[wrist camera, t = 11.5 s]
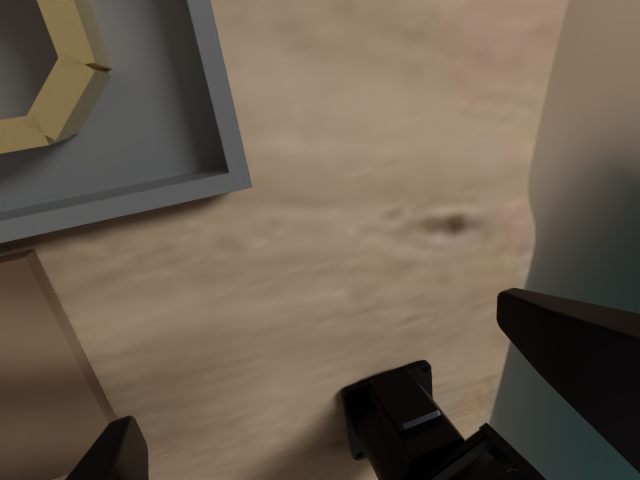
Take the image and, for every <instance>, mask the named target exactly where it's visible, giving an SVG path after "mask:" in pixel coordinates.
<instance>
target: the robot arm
mask: <svg viewBox="0 0 640 480" xmlns="http://www.w3.org/2000/svg"><path fill="white" fill-rule="evenodd" d="M496 318H497V323H498V325H499V327H500V328H501V330H502V331H503V332H504V333H505V334H506V335H507V337H508V338H509V339H510V340H511V341H512V343H513V344H514V345H515V346H516V347H517V349H519V351H520V352H521V353H522V354H523V356H524V357H525V358H526V359H527V360H528V361H529V363H531V365H532V366H533V367H534V368H535V369H536V371H537V372H538V373H539V374H540V375H541V376H542V377H543V378H544V379H545V380H546V381H547V382H548V383H549V384H550V385H551V386H552V387H553V388H554V389H555V390H556V391H557V392H558V393H559V394H560V395H561V396H562V397H563V398H564V399H565V400H566V401H567V402H568V403H569V404H570V405H571V406H572V407H573V408H574V409H575V410H576V411H577V412H578V413H579V414H580V415H581V416H582V417H583V418H584V419H585V420H586V421H587V422H588V423H589V424H590V425H591V426H592V427H593V428H594V429H595V430H596V431H597V432H598V433H599V434H600V435H601V436H602V437H603V438H604V439H605V440H606V441H607V442H608V443H610V444H611V445H612V446H613V447H614V448H615V449H616V450H617V451H618V452H619V453H620V454H621V455H622V456H623V457H624V458H625V459H626V460H627V461H628V462H629V463H630V464H631V465H632V466H633V467H634V468H635V469H636V470H637V471H638V472H639V473H640V313H636V312H631V311H626V310H621V309H617V308H612V307H607V306H602V305H597V304H592V303H587V302H582V301H577V300H572V299H567V298H562V297H557V296H552V295H547V294H543V293H537V292H532V291H528V290H523V289H518V288H510V289H507V290H504V291H501V292H500V293H499V294H498V297H497V317H496ZM350 394H351V395H350ZM348 395H349V396H348ZM342 401H343V407H344V413H345V419H346V425H347V431H348V437H349V443H350V449H351V454H352V456H353V458H354V460H361V459H364V458H366V457H368V459H369V461H370V463H371V465H372V467H373V470H374V472H375V474H376V476H377V478H378V480H546V479H545V478H544V477H543V476H542V475H541V474H540V473H539V472H538V471H537V470H536V469H535V468H534V467H533V466H532V465H531V464H530V463H529V462H528V461H527V460H525V459H524V458H523V457H522V456H521V455H520V454H519V453H518V452H517V451H516V450H515V449H514V448H513V447H512V446H511V445H509V443H508V442H506V441H505V440H504V439H503V438H502V437H501V436H500V435H499V434H498V433H497V432H496V431H495V430H494V429H493V428H492V427H490V425H489V424H487V423H485V424H483V425H482V426H481V427H479V430H478V431H477V432H476V433H474V434H473V435H472V436H470V437H469V438H468V439H466V440H465V439H464V438H463V436H462V435H461V434H460V433H459V431H458V430H457V429H456V428H455V426H454V425H453V424H452V423H451V421H450V420H449V419H448V418H447V416H446V415H445V414H444V413H443V411H442V410H441V409H440V408H439V406H438V405H437V404H436V403H435V401H434V400H433V396H432V373H431V365H430V364H429V363H428V362H427V361H426V360H421V361H419V362H416V363H413V364H410V365H407V366H405V367H402V368H399V369H396V370H394V371H391V372H388V373H385V374H383V375H380V376H377V377H374V378H371V379H369V380H366V381H363V382H360V383H358V384H355V385H352V386H349V387H347V388H345V389H344V390H343V391H342ZM65 480H149V479H148V448H147V444H146V441H145V439H144V437H143V435H142V433H141V430H140V428H139V426H138V424H137V422H136V420H135V418H134V417H133V416H130V415H129V416H126V417H123V418H120V419H117V420H114V421H112V422H110V423H109V424H108V425H107V427H106V428H105V429H104V430H103V432H102V433H101V434H100V436H99V437H98V438H97V439H96V441H95V442H94V443H93V445H92V446H91V447H90V448H89V450H88V451H87V452H86V453H85V455H84V456H83V457H82V459H81V460H80V461H79V462H78V464H77V465H76V466H75V468H74V469H73V470H72V471H71V473H70V474H69V475H68V477H67V478H66V479H65Z"/></svg>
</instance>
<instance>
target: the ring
mask: <svg viewBox="0 0 640 480" xmlns="http://www.w3.org/2000/svg"><path fill="white" fill-rule="evenodd" d="M37 2H38V5H39V8H40V10H41V13H42V15H43V18H44V21H45V23H46V26H47V29H48V31H49V34H50V37H51V39H52V42H53V45H54V47H55V50H56V52H57V55H58V60H57V61H56V63H55V65H54V67H53V69H52V71H51V72H50V74H49V76H48V78H47V80H46V81H45V83H44V85H43V87H42V89H41V91H40V92H39V94H38V96H37V98H36V100H35V101H34V103H33V105H32V107H31V109H30V110H29V112H28V114H27V116H22V117H16V118H9V119H3V120H0V154H1V153H7V152H12V151H18V150H24V149H30V148H35V147H41V146H47V145H51V144H54V143H56V142H59V141H62V140H65V139H68V138H71V137H73V135H75V134H78V133H79V132H80V130H81V128H82V127H83V125H84V123H85V121H86V120H87V118H88V116H89V114H90V113H91V111H92V109H93V107H94V106H95V104H96V102H97V100H98V99H99V97H100V95H101V93H102V92H103V90H104V88H105V86H106V85H107V83H108V81H109V79H110V78H111V76H112V75H110V74H109V73H107V72H106V71H104V70H106V69H112V66H111V63H110V60H109V57H108V54H107V51H106V48H105V45H104V42H103V39H102V36H101V33H100V30H99V27H98V24H97V21H96V18H95V15H94V12H93V9H92V6H91V3H90V0H37Z"/></svg>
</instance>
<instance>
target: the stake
mask: <svg viewBox="0 0 640 480" xmlns="http://www.w3.org/2000/svg"><path fill="white" fill-rule="evenodd" d="M114 420H117V419H116V417H115V415H114V413H113V411H112V408H111V406H110V404H109V402H108V400H107V398H106V396H105V394H104V392H103V390H102V388H101V386H100V384H99V382H98V380H97V378H96V376H95V374H94V372H93V369H92V367H91V365H90V363H89V361H88V359H87V357H86V355H85V353H84V351H83V349H82V347H81V345H80V343H79V341H78V339H77V337H76V335H75V332H74V330H73V328H72V326H71V324H70V322H69V320H68V318H67V316H66V314H65V312H64V310H63V308H62V306H61V304H60V302H59V300H58V298H57V295H56V293H55V291H54V289H53V287H52V285H51V283H50V281H49V279H48V277H47V275H46V273H45V271H44V269H43V267H42V265H41V263H40V261H39V259H38V256H37V254H36V252H35V250H34V249H33V250H28V251H24V252H19V253H15V254H11V255H6V256H2V257H0V480H52V479H55V478H58V477H60V476H63V475H66V474H69V473H71V471H72V470H73V469H74V468H75V466H76V465H77V464H78V462H79V461H80V460H81V459H82V457H83V456H84V455H85V453H86V452H87V451H88V450H89V448H90V447H91V446H92V445H93V443H94V442H95V441H96V439H97V438H98V437H99V436H100V434H101V433H102V432H103V430H104V429H105V428H106V427H107V425H108V424H109V423H110V422H112V421H114Z"/></svg>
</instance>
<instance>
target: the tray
mask: <svg viewBox="0 0 640 480" xmlns="http://www.w3.org/2000/svg"><path fill="white" fill-rule="evenodd" d="M90 3H91V6H92V9H93V12H94V15H95V18H96V21H97V24H98V27H99V30H100V33H101V36H102V39H103V42H104V45H105V48H106V51H107V54H108V57H109V60H110V63H111V66H112V69H106V70H104V71H106V72H107V73H109V74H110V75H112V76H111V78H110V79H109V81H108V83H107V85H106V86H105V88H104V90H103V92H102V93H101V95H100V97H99V99H98V100H97V102H96V104H95V106H94V107H93V109H92V111H91V113H90V114H89V116H88V118H87V120H86V121H85V123H84V125H83V127H82V128H81V130H80V132H79V133H78V134H75V135H73V137H71V138H68V139H65V140H62V141H59V142H56V143H54V144H51V145H47V146H41V147H35V148H30V149H24V150H18V151H12V152H7V153H1V154H0V243H3V242H7V241H12V240H16V239H21V238H25V237H30V236H35V235H39V234H44V233H48V232H53V231H57V230H62V229H66V228H71V227H75V226H80V225H84V224H89V223H93V222H98V221H102V220H107V219H111V218H116V217H120V216H125V215H129V214H134V213H138V212H143V211H147V210H152V209H156V208H161V207H165V206H170V205H174V204H179V203H183V202H188V201H193V200H197V199H202V198H206V197H211V196H215V195H220V194H224V193H229V192H233V191H238V190H242V189H247V188H251V187H252V184H251V180H250V175H249V171H248V166H247V162H246V157H245V153H244V148H243V144H242V140H241V135H240V131H239V126H238V122H237V117H236V113H235V108H234V104H233V99H232V95H231V90H230V86H229V82H228V77H227V73H226V68H225V64H224V59H223V55H222V50H221V46H220V41H219V37H218V32H217V28H216V24H215V19H214V15H213V10H212V6H211V1H210V0H90ZM57 60H58V55H57V52H56V50H55V47H54V45H53V42H52V39H51V37H50V34H49V31H48V29H47V26H46V23H45V21H44V18H43V15H42V13H41V10H40V8H39V5H38V2H37V0H0V120H3V119H9V118H16V117H22V116H27V114H28V112H29V110H30V109H31V107H32V105H33V103H34V101H35V100H36V98H37V96H38V94H39V92H40V91H41V89H42V87H43V85H44V83H45V81H46V80H47V78H48V76H49V74H50V72H51V71H52V69H53V67H54V65H55V63H56V61H57Z"/></svg>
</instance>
